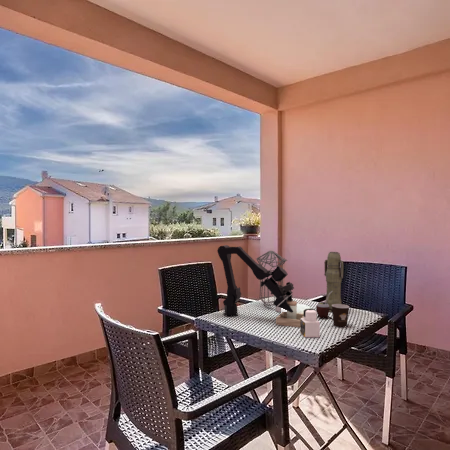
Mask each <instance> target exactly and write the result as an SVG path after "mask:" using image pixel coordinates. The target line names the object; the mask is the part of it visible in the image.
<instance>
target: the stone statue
mask: <svg viewBox="0 0 450 450" xmlns="http://www.w3.org/2000/svg"><path fill="white" fill-rule="evenodd" d="M341 259H342V258H341V254H340V252H338V251H329V252H328V254H327V257H326V259H325V260H324V264H323V265H324V274H323V275H324V277H325V281H326V297H325V301H326V300H327V297H328V294H329V293H330V292H331V291H333V292H332V293H331V294H330V295H329V297H328V300H327V304H328V305H329V309H332V305H333V304H342V299H341V298H342V297H341V292H342V291H341V289H342V286H341V285H342V281H343V280H342V279H344V267H345V266H344V262H343V260H341ZM330 312H331V313H332V311H331V310H329V313H330Z"/></svg>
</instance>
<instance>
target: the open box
mask: <svg viewBox="0 0 450 450" xmlns="http://www.w3.org/2000/svg"><path fill="white" fill-rule="evenodd" d="M301 318H303V313H298V312H297V319H288V318H287V312H282V313H281V312H280V313H279V314H278V315H277V316H276V317H275V325H279V326H287V327H293V328H300V319H301Z"/></svg>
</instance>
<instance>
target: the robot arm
mask: <svg viewBox="0 0 450 450" xmlns="http://www.w3.org/2000/svg"><path fill="white" fill-rule="evenodd" d="M216 252H217V254H218V258H219V259H220V261H221V262H222V264H223V265H222V266H223V270H224V275H225V280H226V287H227V291H226V298H225V299H224V300H223V301H222V304H223V306H224V309H223V315H224V316H226V317H227V318H229V317H230V318H231V317H238V316H239V315H238V306H237V305H238V301H240V299H241V297H242V292H241V288H240V287H238V286H237V284H236V280H235V276H234V275H235V274H234V271H233V270H234V269H233V265H232V261H231V260H232V255H234V254H235V255H237V257H239V258H240V260H242V261H243V262H244V263H245V264H246V265H247V266H248V267H249V268H250V270H251V272H252V273H253V275H254V276H255V278H256V279H258V280H259V281H260V280H261V288H262V286H263V287H264V285H265V288H268V289H267V290H268V291H270V295H273V296H275V301H274V300H273V301H274V305H273V306H275V308H276V307H277V306H278V305H279V306H278V307H280V308H283V309H285V310H287V311H289V312H291V313H292V312H293V310H292V308H291V307H290V306H289V304H288V303H287V301H294V300H293V290H294V289H295V287H294V284H293V283H292V282H290V281H287V282H286V284H284V285H283V286H282V285H281V284H278V282H279V283H282V280H283V281H284V279H285V278H286V277H287V276H288V272H287V271H286V270H285V268H282V266H281V265H280V266H279V265H278V266H277V265H276V266H277V267H275V269H273V270H274V271H268V269H267V268H265V267H264V265H262V264H260V265H259V263H257V262H256V260H254V259H253V257H252V256H251V255H249V253H247V251H245V250H244V248H243V247H242V246H230V245H227V244H226V245H225V244H224V245H221V246H218V247H217V251H216ZM261 265H262V266H261ZM267 277H268V278H267ZM262 280H263V281H262ZM290 295H291V296H290Z"/></svg>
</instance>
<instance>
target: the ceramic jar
mask: <svg viewBox="0 0 450 450" xmlns="http://www.w3.org/2000/svg"><path fill="white" fill-rule="evenodd" d="M287 303H288V304H289V306H290V307H291V308H292V310H293V312H292V313H291V312H289V311H287V318H288V319H297V313H298V310H297V308H298V307H297V304H298V302H297V301H295V300H293V301H287Z"/></svg>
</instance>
